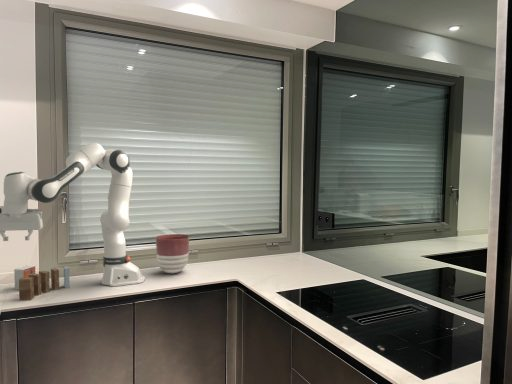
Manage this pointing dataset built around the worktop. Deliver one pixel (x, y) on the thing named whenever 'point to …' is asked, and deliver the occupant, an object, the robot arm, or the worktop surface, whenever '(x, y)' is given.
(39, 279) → the domino
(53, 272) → the domino
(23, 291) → the domino
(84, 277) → the worktop surface
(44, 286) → the domino
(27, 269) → the small box
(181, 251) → the planter
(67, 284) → the domino
